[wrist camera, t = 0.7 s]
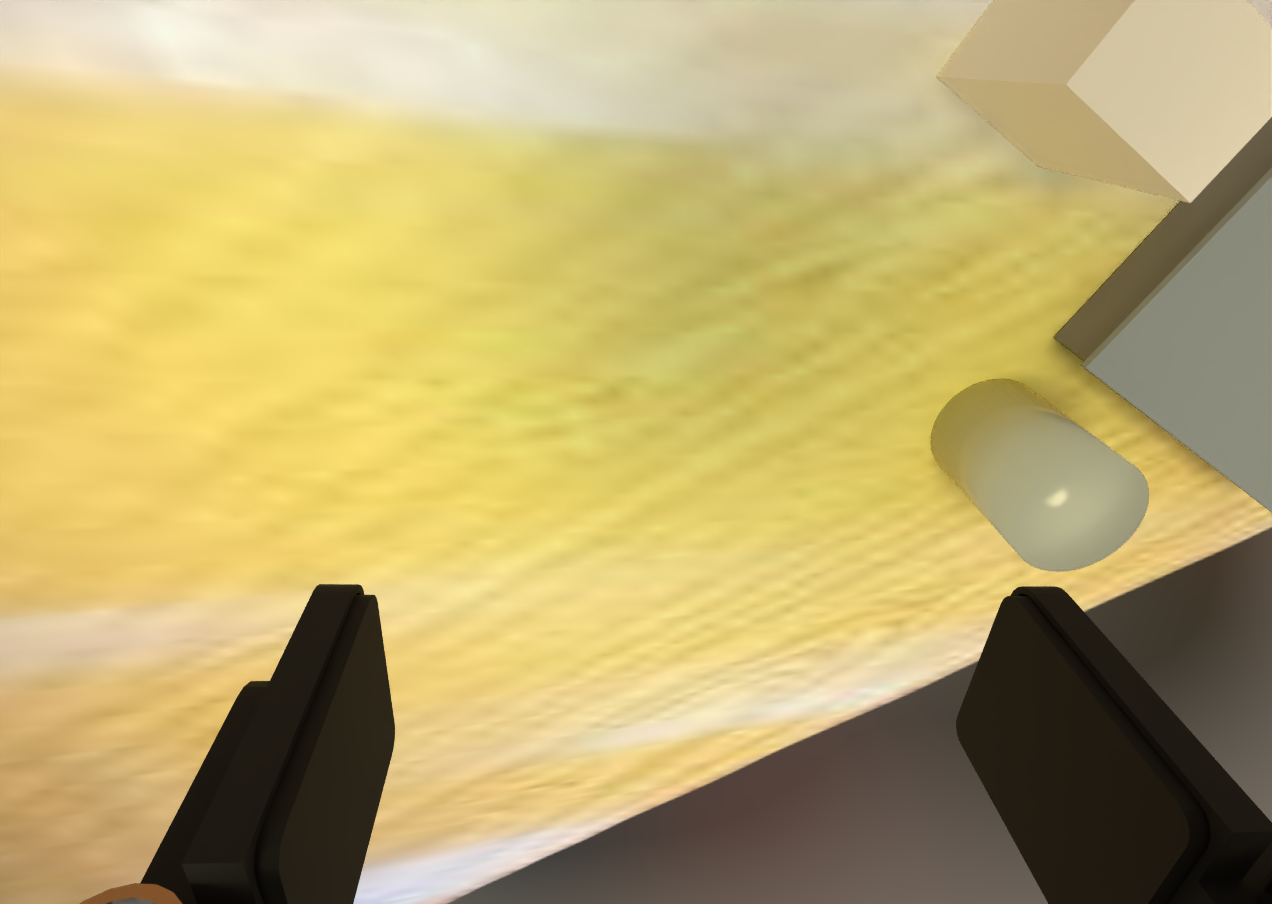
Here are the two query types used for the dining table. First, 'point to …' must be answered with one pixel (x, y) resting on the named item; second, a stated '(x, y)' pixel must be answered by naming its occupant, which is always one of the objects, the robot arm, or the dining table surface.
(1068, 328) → the podium
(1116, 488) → the grey cylinder
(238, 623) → the dining table surface
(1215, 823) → the robot arm
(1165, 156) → the carton
